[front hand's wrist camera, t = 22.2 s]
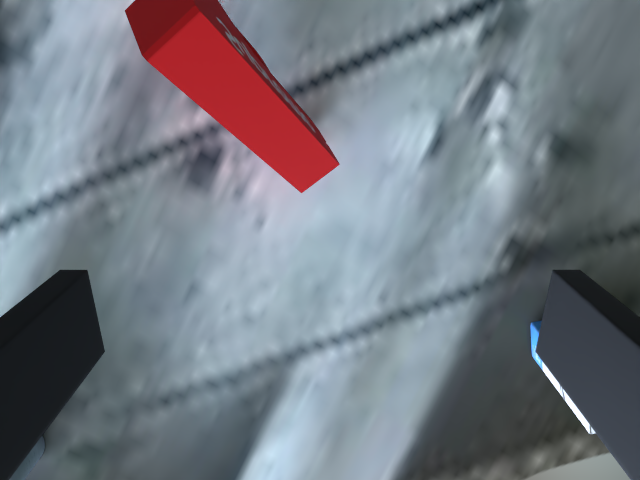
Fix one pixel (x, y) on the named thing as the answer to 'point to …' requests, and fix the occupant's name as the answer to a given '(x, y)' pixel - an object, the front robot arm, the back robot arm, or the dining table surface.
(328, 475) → the dining table surface
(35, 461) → the can
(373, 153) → the dining table surface
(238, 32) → the toy gun
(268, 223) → the dining table surface
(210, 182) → the dining table surface
